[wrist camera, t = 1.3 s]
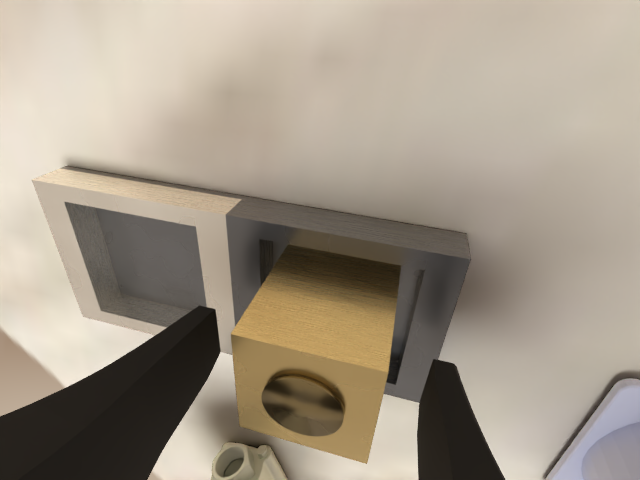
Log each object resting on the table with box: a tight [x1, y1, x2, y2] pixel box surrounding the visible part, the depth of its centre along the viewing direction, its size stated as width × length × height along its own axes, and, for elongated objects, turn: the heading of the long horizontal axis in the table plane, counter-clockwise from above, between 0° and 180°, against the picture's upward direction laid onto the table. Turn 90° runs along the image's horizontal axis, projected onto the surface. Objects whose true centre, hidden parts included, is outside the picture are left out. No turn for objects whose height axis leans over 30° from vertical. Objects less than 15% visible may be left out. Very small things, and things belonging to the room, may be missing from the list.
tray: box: [32, 166, 471, 403], centre depth 15 cm, size 16×7×2 cm, turn 88°
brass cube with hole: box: [231, 244, 401, 464], centre depth 13 cm, size 4×4×5 cm
